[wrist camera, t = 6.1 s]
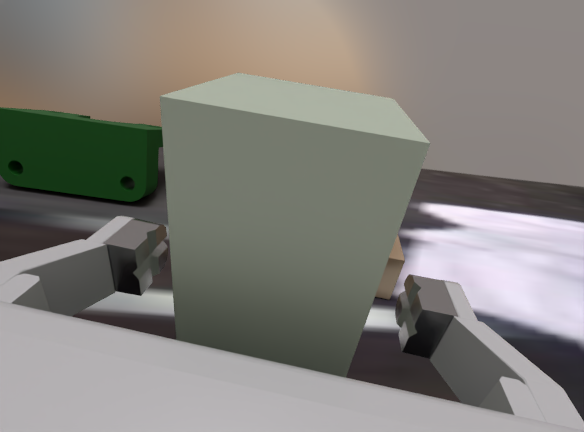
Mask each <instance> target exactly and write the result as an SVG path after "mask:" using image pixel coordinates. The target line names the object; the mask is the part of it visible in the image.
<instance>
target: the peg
mask: <svg viewBox="0 0 584 432" xmlns="http://www.w3.org/2000/svg"><path fill="white" fill-rule="evenodd" d="M160 105H161V119H162V135H163V150H164V165H165V179H166V194H167V209H168V224H169V239H170V253H171V268H172V283H173V298H174V313H175V327H176V340H179V341H183V342H188V343H192V344H197V345H201V346H206V347H210V348H215V349H219V350H224V351H228V352H233V353H237V354H242V355H246V356H251V357H255V358H260V359H264V360H269V361H273V362H278V363H282V364H287V365H291V366H296V367H300V368H305V369H309V370H314V371H318V372H323V373H327V374H332V375H336V376H340V377H345V378H346V375H347V372H348V370H349V367H350V364H351V361H352V359H353V356H354V353H355V350H356V347H357V345H358V342H359V339H360V336H361V334H362V331H363V328H364V325H365V323H366V320H367V317H368V314H369V311H370V309H371V306H372V303H373V300H374V298H375V295H376V292H377V289H378V287H379V284H380V281H381V278H382V275H383V273H384V270H385V267H386V264H387V262H388V259H389V256H390V253H391V251H392V248H393V245H394V242H395V239H396V237H397V234H398V231H399V228H400V226H401V223H402V220H403V217H404V215H405V212H406V209H407V206H408V203H409V201H410V198H411V195H412V192H413V190H414V187H415V184H416V181H417V179H418V176H419V173H420V170H421V167H422V165H423V162H424V159H425V156H426V154H427V151H428V148H429V145H430V143H429V141H428V140H427V139H426V138H425V136H424V135H423V134H422V133H421V132H420V130H419V129H418V128H417V127H416V126H415V124H414V123H413V122H412V121H411V120H410V119H409V117H408V116H407V115H406V114H405V112H404V111H403V110H402V109H401V107H400V106H399V105H398V104H397V103H396V101H395V100H394V99H392V98H386V97H380V96H374V95H368V94H362V93H356V92H350V91H344V90H338V89H332V88H326V87H320V86H313V85H308V84H302V83H296V82H290V81H284V80H278V79H271V78H266V77H260V76H254V75H248V74H242V73H237V74H233V75H229V76H226V77H223V78H219V79H216V80H213V81H209V82H206V83H203V84H199V85H196V86H192V87H189V88H186V89H182V90H179V91H176V92H172V93H169V94H166V95H162V96H160Z"/></svg>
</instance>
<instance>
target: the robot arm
mask: <svg viewBox="0 0 584 432" xmlns="http://www.w3.org/2000/svg"><path fill="white" fill-rule="evenodd" d="M166 236H167V233H166V227H165V226H164V225H162V224H158V223H153V222H149V221H144V220H140V219H134V218H131V217H126V216H117V217H116V218H114V219H113V220H112V221H110V222H109V223H108V224H107V225H105V226H104V227H103V228H101V229H100V230H99V231H97V232H96V233H95V234H93V235H92V236H91V237H89V238H88V239H87V240H82V239H81V240H77V241H73V242H70V243H66V244H63V245H59V246H55V247H52V248H48V249H45V250H41V251H38V252H34V253H30V254H27V255H23V256H20V257H16V258H12V259H9V260H5V261H2V262H0V432H584V422H583V420H582V418H581V417H580V415H579V414H578V412H577V410H576V409H575V407H574V406H573V404H572V402H571V401H570V399H569V398H568V396H567V394H566V393H565V391H564V390H563V388H562V387H560V386H559V385H558V384H557V383H556V382H554V381H553V380H552V379H551V378H550V377H548V376H547V375H546V374H545V373H543V372H542V371H541V370H540V369H539V368H537V367H536V366H535V365H534V364H533V363H531V362H530V361H529V360H528V359H527V358H525V357H524V356H523V355H522V354H521V353H519V352H518V351H517V350H516V349H515V348H513V347H512V346H511V345H510V344H509V343H507V342H506V341H505V340H504V339H503V338H501V337H500V336H499V335H498V334H496V333H495V332H494V331H493V330H492V329H490V328H489V327H488V326H487V325H486V324H484V323H483V322H479V321H478V320H477V318H476V316H475V314H474V312H473V310H472V308H471V306H470V304H469V302H468V300H467V298H466V296H465V294H464V291H463V289H462V287H461V285H460V284H458V283H456V282H450V281H444V280H436V279H431V278H426V277H421V276H415V275H410V274H409V275H408V277H407V278H406V280H405V283H404V286H405V290H406V291H404V292H402V293H401V294H400V295H399V297H398V300H397V304H396V310H395V314H396V322H397V324H398V325H399V326H400V327H401V330H400V332H399V339H400V344H401V349H402V352H404V353H408V354H412V355H416V356H421V357H425V358H429V359H430V361H431V362H432V364H433V365H434V366H435V368H436V369H437V370H438V372H439V373H440V374H441V376H442V377H443V378H444V380H445V381H446V382H447V384H448V385H449V386H450V388H451V389H452V390H453V392H454V393H455V394H456V396H457V397H458V398H459V400H460V401H461V403H458V402H453V401H449V400H444V399H440V398H435V397H431V396H426V395H421V394H417V393H412V392H408V391H403V390H399V389H394V388H390V387H385V386H381V385H376V384H372V383H367V382H363V381H358V380H354V379H349V378H345V377H340V376H336V375H332V374H327V373H323V372H318V371H314V370H309V369H305V368H300V367H296V366H291V365H287V364H282V363H278V362H273V361H269V360H264V359H260V358H255V357H251V356H246V355H242V354H237V353H233V352H228V351H224V350H219V349H215V348H210V347H206V346H201V345H197V344H192V343H188V342H183V341H179V340H174V339H170V338H165V337H161V336H156V335H152V334H147V333H143V332H138V331H134V330H129V329H125V328H120V327H116V326H111V325H107V324H102V323H98V322H93V321H89V320H84V319H80V318H75V317H71V316H72V315H74V314H76V313H78V312H80V311H82V310H83V309H85V308H87V307H89V306H91V305H93V304H95V303H96V302H98V301H100V300H102V299H104V298H106V297H108V296H109V295H111V294H113V293H115V291H118V292H123V293H129V294H134V295H139V296H141V295H142V294H143V293H144V292H145V290H146V289H147V288H148V287H149V285H150V284H151V283H152V276H154V275H156V274H158V273H160V272H161V270H162V269H163V268H164V266H165V263H166V261H167V256H168V247H167V245H166V244H165V243H164V241H163V240H164V238H165V237H166Z"/></svg>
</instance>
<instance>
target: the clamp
mask: <svg viewBox="0 0 584 432" xmlns="http://www.w3.org/2000/svg"><path fill="white" fill-rule="evenodd" d="M159 147H163V135H162V127H159V126H152V125H145V124H131V123H120V122H110V121H103V120H95V119H90V116H83V115H77V114H70V113H63V112H55V111H45V110H31V109H16V108H1V107H0V175H1V176H2V178H3V179H4V180H5V181H7V182H8V183H10V184H12V185H15V186H21V187H28V188H35V189H42V190H49V191H56V192H64V193H71V194H78V195H85V196H92V197H99V198H106V199H114V200H121V201H128V202H132V201H136V200H139V199H141V198H143V197H145V196H147V195H149V194H151V193H153V192H154V190H155V189H156V187H157V183H158V150H159Z"/></svg>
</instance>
